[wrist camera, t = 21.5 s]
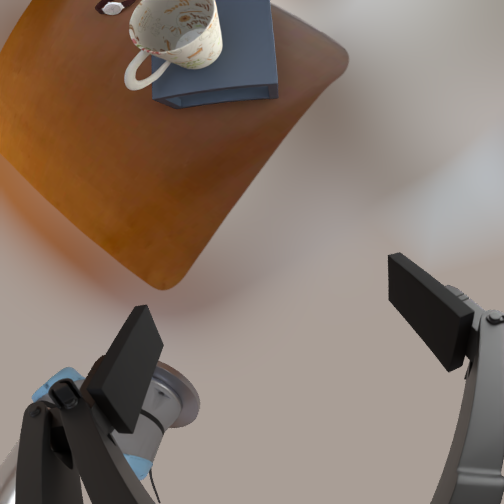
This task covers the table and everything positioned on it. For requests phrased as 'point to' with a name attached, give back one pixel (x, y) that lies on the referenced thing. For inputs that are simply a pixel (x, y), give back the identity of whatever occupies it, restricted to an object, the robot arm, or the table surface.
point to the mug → (174, 36)
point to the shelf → (227, 62)
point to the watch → (112, 6)
